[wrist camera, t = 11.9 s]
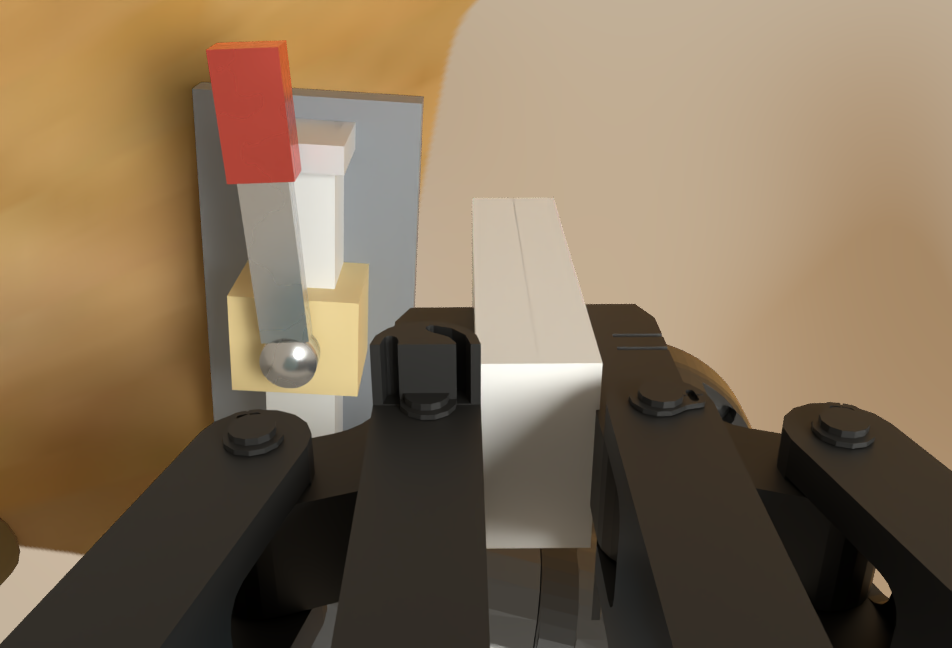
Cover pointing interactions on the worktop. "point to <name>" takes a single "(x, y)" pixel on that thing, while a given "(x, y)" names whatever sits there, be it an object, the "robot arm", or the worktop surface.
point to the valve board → (365, 224)
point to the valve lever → (267, 197)
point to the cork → (7, 551)
